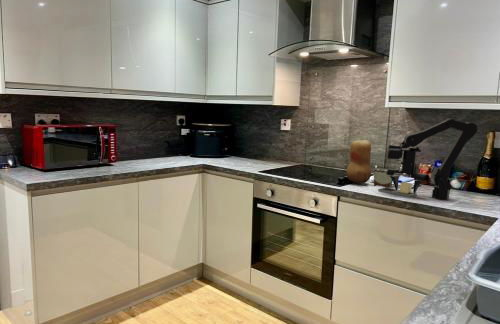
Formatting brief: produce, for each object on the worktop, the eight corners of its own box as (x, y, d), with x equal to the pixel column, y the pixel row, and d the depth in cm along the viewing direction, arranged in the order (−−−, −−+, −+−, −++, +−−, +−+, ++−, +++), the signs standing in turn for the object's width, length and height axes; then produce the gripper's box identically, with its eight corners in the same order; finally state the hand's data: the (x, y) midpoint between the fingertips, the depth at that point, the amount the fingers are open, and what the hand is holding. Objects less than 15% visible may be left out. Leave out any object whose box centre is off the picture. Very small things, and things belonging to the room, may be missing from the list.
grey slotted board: (416, 197, 183) (416, 193, 182) (409, 199, 177) (409, 195, 177) (385, 191, 194) (385, 187, 194) (377, 193, 188) (378, 189, 188)
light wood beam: (410, 195, 182) (412, 183, 182) (407, 196, 180) (408, 184, 179) (402, 193, 185) (404, 182, 184) (399, 194, 183) (400, 182, 182)
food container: (397, 189, 202) (399, 170, 201) (392, 190, 198) (394, 171, 197) (377, 184, 211) (378, 167, 210) (371, 185, 207) (373, 168, 206)
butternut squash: (340, 182, 213) (344, 138, 209) (354, 180, 221) (358, 138, 218) (361, 187, 202) (365, 141, 199) (375, 184, 211) (379, 140, 207)
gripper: (435, 162, 179) (431, 193, 181) (397, 157, 192) (394, 186, 194) (426, 163, 171) (422, 196, 174) (387, 158, 185) (384, 189, 187)
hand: (405, 191), depth 182 cm, fingers open, 8 cm apart
